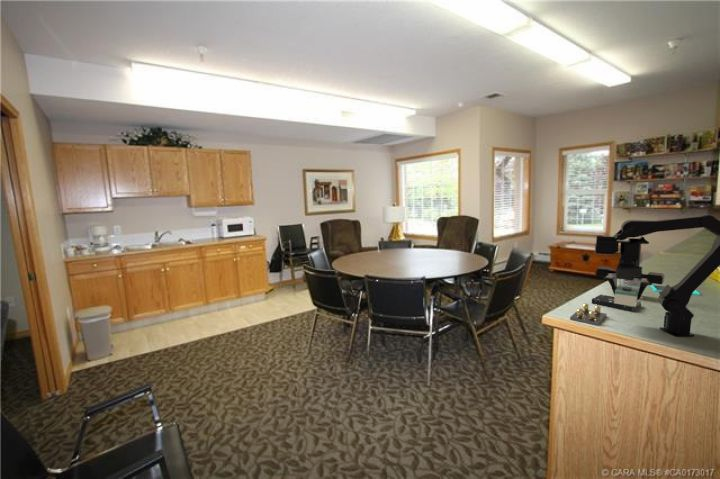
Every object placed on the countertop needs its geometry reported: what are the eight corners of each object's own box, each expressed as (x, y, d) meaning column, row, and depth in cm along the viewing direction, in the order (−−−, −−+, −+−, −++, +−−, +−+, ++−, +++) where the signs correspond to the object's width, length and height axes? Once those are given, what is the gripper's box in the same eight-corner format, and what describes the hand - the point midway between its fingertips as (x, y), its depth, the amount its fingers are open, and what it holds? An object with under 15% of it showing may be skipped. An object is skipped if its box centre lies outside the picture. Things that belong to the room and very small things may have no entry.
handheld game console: (700, 296, 152) (700, 293, 151) (654, 292, 160) (654, 289, 160) (693, 290, 160) (693, 288, 160) (649, 287, 168) (650, 284, 168)
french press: (648, 297, 152) (653, 242, 148) (632, 300, 147) (636, 245, 144) (624, 291, 161) (628, 240, 157) (609, 295, 157) (612, 242, 153)
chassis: (580, 310, 138) (580, 301, 137) (606, 316, 131) (607, 306, 130) (570, 319, 129) (570, 309, 128) (597, 325, 122) (598, 315, 122)
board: (618, 295, 126) (618, 282, 126) (638, 298, 122) (639, 285, 122) (614, 303, 119) (615, 289, 118) (635, 306, 114) (636, 292, 114)
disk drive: (591, 305, 146) (633, 313, 134) (591, 298, 146) (633, 306, 134) (600, 300, 152) (641, 307, 140) (600, 294, 152) (641, 301, 140)
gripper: (592, 255, 120) (589, 297, 122) (662, 262, 106) (657, 309, 108) (600, 251, 127) (597, 291, 129) (666, 257, 114) (662, 301, 116)
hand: (626, 298), depth 120 cm, fingers closed on board, 6 cm apart
